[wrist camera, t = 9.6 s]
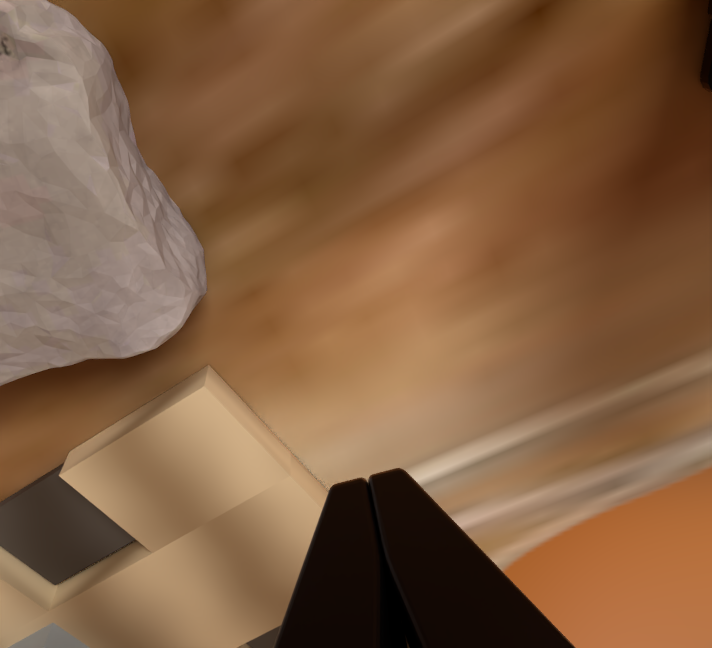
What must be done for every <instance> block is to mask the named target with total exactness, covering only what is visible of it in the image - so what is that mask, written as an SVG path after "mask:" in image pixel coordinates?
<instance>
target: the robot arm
mask: <svg viewBox="0 0 712 648" xmlns="http://www.w3.org/2000/svg"><path fill="white" fill-rule="evenodd" d="M708 14H709V15H710V17H711V22H710V27H709V32H708V37H707V43H706V48H705V53H704V58H703V63H702V69H701V74H700V81H701V84H702V86H703V88H705V89H706V90H707V91H710V92H712V0H710V1H709V6H708ZM368 484H369V485H368ZM408 646H409V647H408ZM273 648H575V647H574V646H573V645H572V644H571V643H570V641H569V640H568V639H567V638H566V637H565V636H564V635H563V634H562V633H561V632H560V631H559V630H558V629H557V628H556V627H555V626H554V625H553V624H552V623H551V622H550V621H549V620H548V619H547V618H546V616H544V614H543V613H542V612H541V611H540V610H539V609H538V608H537V607H536V606H535V605H534V604H533V603H532V602H531V601H530V600H529V599H528V598H527V597H526V596H525V595H524V594H523V593H522V592H521V590H520V589H519V588H518V587H516V585H515V584H514V583H513V582H512V581H511V580H510V579H509V578H508V577H507V576H506V575H505V574H504V573H503V572H502V571H501V570H500V569H499V568H498V567H497V565H496V564H495V563H494V562H493V561H492V560H491V559H490V558H489V557H488V556H487V555H486V554H485V553H484V552H483V551H482V550H481V549H480V548H479V547H478V546H477V545H476V544H475V543H474V542H473V540H472V539H471V538H470V537H469V536H468V535H467V534H466V533H465V532H464V531H463V530H462V529H461V528H460V527H459V526H458V525H457V524H456V523H455V522H454V521H453V520H452V519H451V518H450V517H449V516H448V514H447V513H446V512H445V511H444V510H443V509H442V508H441V507H440V506H439V505H438V504H437V503H436V502H435V501H434V500H433V499H432V498H431V497H430V496H429V495H428V494H427V493H426V492H425V491H424V489H423V488H422V487H421V486H420V485H419V484H418V483H417V482H416V481H415V480H414V479H413V478H412V477H411V476H410V475H409V474H408V473H407V472H406V471H405V470H403V469H401V468H396V469H392V470H388V471H384V472H380V473H376V474H373V475H371V476H370V477H369V479H368V482H367V480H366V479H364V478H357V479H353V480H349V481H345V482H341V483H337V484H334V485H333V486H332V487H331V488H330V490H329V492H328V495H327V498H326V500H325V503H324V506H323V509H322V512H321V514H320V517H319V520H318V523H317V526H316V528H315V531H314V534H313V537H312V540H311V543H310V545H309V548H308V551H307V554H306V557H305V559H304V562H303V565H302V568H301V571H300V573H299V576H298V579H297V582H296V585H295V588H294V590H293V593H292V596H291V599H290V602H289V604H288V607H287V610H286V613H285V616H284V618H283V621H282V624H281V627H280V630H279V633H278V635H277V638H276V641H275V644H274V647H273Z"/></svg>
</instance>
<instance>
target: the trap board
mask: <svg viewBox="0 0 712 648" xmlns="http://www.w3.org/2000/svg"><path fill="white" fill-rule="evenodd" d="M327 495H328V492H327V490H326V489H325V488H324V487H323V486H322V485H321V484H320V483H319V482H318V481H317V480H316V479H315V478H314V477H313V475H312V474H311V473H310V472H309V471H308V470H307V469H306V468H305V467H304V466H303V465H302V464H301V463H300V462H299V461H298V459H297V458H296V457H295V456H294V455H293V454H292V453H291V452H290V451H289V450H288V449H287V448H286V447H285V446H284V445H283V443H282V442H281V441H280V440H279V439H278V438H277V437H276V436H275V435H274V434H273V433H272V432H271V431H270V430H269V428H268V427H267V426H266V425H265V424H264V423H263V422H262V421H261V420H260V419H259V418H258V417H257V416H256V415H255V414H254V412H253V411H252V410H251V409H250V408H249V407H248V406H247V405H246V404H245V403H244V402H243V401H242V400H241V399H240V398H239V396H238V395H237V394H236V393H235V392H234V391H233V390H232V389H231V388H230V387H229V386H228V385H227V384H226V383H225V381H224V380H223V379H222V378H221V377H220V376H219V375H218V374H217V373H216V372H215V371H214V370H213V369H212V368H211V367H210V365H208V366H206V367H205V368H203V369H201V370H200V371H198V372H197V373H195V374H193V375H192V376H190V377H188V378H187V379H185V380H184V381H182V382H180V383H179V384H177V385H176V386H174V387H172V388H171V389H169V390H168V391H166V392H164V393H163V394H161V395H160V396H158V397H156V398H155V399H153V400H152V401H150V402H148V403H147V404H145V405H144V406H142V407H140V408H139V409H137V410H136V411H134V412H132V413H131V414H129V415H128V416H126V417H124V418H123V419H121V420H120V421H118V422H116V423H115V424H113V425H111V426H110V427H108V428H107V429H105V430H103V431H102V432H100V433H99V434H97V435H95V436H94V437H92V438H91V439H89V440H87V441H86V442H84V443H83V444H81V445H79V446H78V447H76V448H75V449H73V450H71V451H70V452H69V454H68V456H67V458H66V461H65V463H63V464H62V465H60V466H58V467H57V468H55V469H54V470H52V471H50V472H49V473H47V474H45V475H44V476H42V477H41V478H39V479H37V480H36V481H34V482H33V483H31V484H29V485H28V486H26V487H24V488H23V489H21V490H20V491H18V492H16V493H15V494H13V495H12V496H10V497H8V498H7V499H5V500H4V501H2V502H0V648H8V647H10V646H12V645H13V644H15V643H17V642H19V641H21V640H22V639H24V638H26V637H28V636H30V635H31V634H33V633H35V632H37V631H38V630H40V629H42V628H44V627H46V626H47V625H49V624H51V623H55V624H56V625H58V626H59V627H60V628H62V629H63V630H65V631H66V632H68V633H69V634H71V635H72V636H74V637H75V638H76V639H78V640H79V641H81V642H82V643H84V644H85V645H87V646H88V647H90V648H273V647H274V644H275V641H276V638H277V635H278V633H279V630H280V627H281V624H282V621H283V618H284V616H285V613H286V610H287V607H288V604H289V602H290V599H291V596H292V593H293V590H294V588H295V585H296V582H297V579H298V576H299V573H300V571H301V568H302V565H303V562H304V559H305V557H306V554H307V551H308V548H309V545H310V543H311V540H312V537H313V534H314V531H315V528H316V526H317V523H318V520H319V517H320V514H321V512H322V509H323V506H324V503H325V500H326V498H327ZM134 540H136V541H134ZM132 541H134V542H133V543H131V542H132ZM129 543H131V544H129ZM127 544H129V545H127ZM125 545H127V546H126V547H124V546H125ZM122 547H124V548H122ZM120 548H122V549H120ZM118 549H120V550H119V551H117V552H115V551H116V550H118ZM113 552H115V553H113ZM111 553H113V554H112V555H110V556H108V555H109V554H111ZM106 556H108V557H106ZM104 557H106V558H105V559H103V560H101V559H102V558H104ZM99 560H101V561H99ZM97 561H99V562H98V563H96V564H94V563H95V562H97ZM92 564H94V565H92ZM90 565H92V566H91V567H89V568H87V567H88V566H90ZM85 568H87V569H85ZM83 569H85V570H84V571H82V572H80V571H81V570H83ZM78 572H80V573H78ZM76 573H78V574H77V575H75V576H73V575H74V574H76ZM71 576H73V577H71ZM69 577H71V578H70V579H68V580H66V579H67V578H69ZM64 580H66V581H64ZM62 581H64V582H63V583H61V584H59V583H60V582H62ZM58 584H59V585H58ZM408 647H409V646H408Z"/></svg>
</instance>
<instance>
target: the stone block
mask: <svg viewBox="0 0 712 648" xmlns="http://www.w3.org/2000/svg"><path fill="white" fill-rule="evenodd" d="M206 291H207V283H206V270H205V261H204V249H203V247H202V246H201V244H200V242H199V240H198V238H197V236H196V235H195V233H194V231H193V229H192V228H191V226H190V225H189V223H188V222H187V221H186V220H185V219H184V218H183V216H182V213H181V211H180V209H179V208H178V206H177V205H176V204H175V203H174V202H173V201H172V199H171V198H170V197H169V195H168V193H167V191H166V189H165V188H164V186H163V184H162V183H161V182H160V180H159V179H158V177H157V176H156V174H155V173H154V172H153V171H152V170H151V169H150V168H148V167H147V166H146V164H145V162H144V160H143V158H142V156H141V154H140V151H139V150H138V148H137V145H136V140H135V135H134V131H133V127H132V124H131V120H130V111H129V104H128V101H127V98H126V96H125V94H124V92H123V89H122V87H121V85H120V82H119V81H118V78H117V76H116V73H115V70H114V67H113V62H112V59H111V57H110V55H109V53H108V51H107V49H106V48H105V46H104V45H103V44H102V43H101V42H100V41H99V40H98V39H97V38H95V37H94V36H93V35H92V34H91V33H90V32H89V31H88V30H87V29H86V28H85V27H84V26H82V25H81V23H80V22H79V21H78V20H77V18H76V17H74V16H73V15H72V14H70V13H69V12H68V11H66V10H65V9H63V8H60V7H58V6H56V5H54V4H52V3H50V2H48V1H46V0H0V386H1V385H3V384H6V383H8V382H11V381H14V380H16V379H19V378H22V377H25V376H28V375H31V374H34V373H37V372H40V371H43V370H46V369H49V368H56V367H63V366H69V365H73V364H76V363H79V362H82V361H85V360H88V359H125V358H129V357H132V356H135V355H138V354H142V353H145V352H147V351H150V350H153V349H156V348H158V347H159V346H160V345H162V344H163V343H164V342H166V341H167V340H168V339H170V338H171V337H172V336H174V335H175V334H176V333H177V332H178V331H179V330H180V329H181V328H182V326H183V325H184V323H185V322H186V320H187V318H188V317H189V315H190V313H191V312H192V310H193V309H194V308H195V306H196V305H197V304H198V303H199V302H200V300H201V299H202V298H203V296H204V295H205V293H206Z"/></svg>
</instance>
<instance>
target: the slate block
mask: <svg viewBox="0 0 712 648" xmlns="http://www.w3.org/2000/svg"><path fill="white" fill-rule="evenodd" d="M8 648H90V647H88V646H87V645H85V644H84V643H82V642H81V641H79V640H78V639H76V638H75V637H74V636H72V635H71V634H69V633H68V632H66V631H65V630H63V629H62V628H60V627H59V626H58V625H56V624H55V623H51V624H49V625H47V626H46V627H44V628H42V629H40V630H38V631H37V632H35V633H33V634H31V635H30V636H28V637H26V638H24V639H22V640H21V641H19V642H17V643H15V644H13V645H12V646H10V647H8Z"/></svg>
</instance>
